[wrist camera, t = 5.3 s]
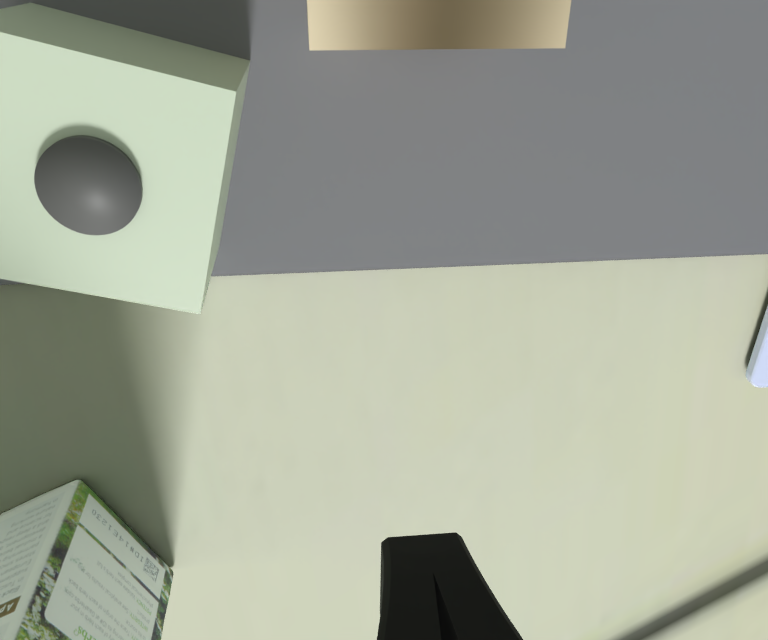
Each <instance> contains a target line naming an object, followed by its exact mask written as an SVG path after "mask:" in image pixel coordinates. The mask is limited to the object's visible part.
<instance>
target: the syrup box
mask: <svg viewBox="0 0 768 640" xmlns="http://www.w3.org/2000/svg"><path fill="white" fill-rule="evenodd" d="M172 579H173V571H172V570H171V569H170V568H169V567H168V566H167V565H166V564H165V563H164V561H163V560H162V559H161V558H160V557H159V556H157V555H156V554H155V553H154V552H153V551H152V550H151V549H150V548H149V547H148V546H147V545H146V544H145V543H144V542H143V541H142V540H141V539H140V538H139V537H138V536H137V535H136V534H135V533H134V532H133V531H132V530H131V529H130V528H129V527H128V526H127V525H126V524H125V523H124V522H123V521H122V520H121V519H120V518H119V517H118V516H117V515H116V514H115V513H114V512H113V511H112V510H111V509H110V508H109V507H108V506H107V505H106V504H105V503H104V502H103V501H102V500H101V499H100V498H99V497H98V496H97V495H96V494H95V492H93V491H92V490H91V489H90V488H89V487H88V486H87V485H86V484H85V483H84V482H83V481H81V480H75V481H72V482H70V483H68V484H65V485H63V486H61V487H58V488H56V489H54V490H52V491H49V492H47V493H44V494H42V495H40V496H38V497H36V498H34V499H31V500H29V501H27V502H25V503H23V504H21V505H19V506H17V507H15V508H13V509H11V510H9V511H6V512H4V513H2V514H0V640H161V636H162V630H163V624H164V618H165V614H166V609H167V605H168V600H169V595H170V589H171V584H172Z"/></svg>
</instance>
